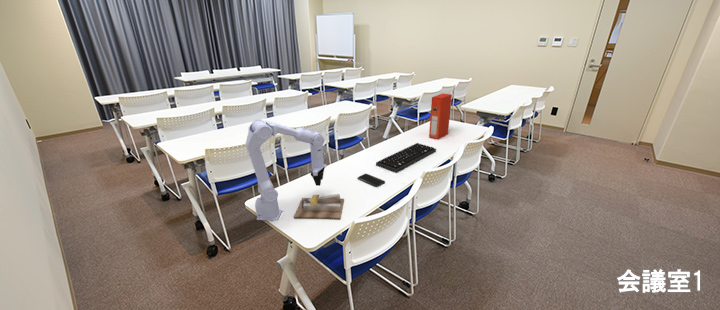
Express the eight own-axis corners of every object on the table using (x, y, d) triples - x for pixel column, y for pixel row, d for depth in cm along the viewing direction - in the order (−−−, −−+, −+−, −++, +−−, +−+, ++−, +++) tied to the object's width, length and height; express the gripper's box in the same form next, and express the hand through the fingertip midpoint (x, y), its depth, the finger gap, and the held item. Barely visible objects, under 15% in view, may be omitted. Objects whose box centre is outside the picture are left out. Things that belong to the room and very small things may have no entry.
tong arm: (309, 206, 136) (308, 200, 135) (308, 204, 138) (308, 198, 137) (340, 201, 140) (340, 195, 139) (339, 199, 142) (339, 193, 141)
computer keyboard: (396, 174, 170) (396, 168, 169) (376, 166, 180) (376, 160, 179) (435, 152, 200) (436, 147, 198) (416, 146, 210) (416, 141, 209)
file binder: (428, 137, 226) (432, 97, 213) (438, 132, 238) (442, 93, 225) (438, 139, 221) (442, 98, 209) (447, 134, 233) (452, 94, 221)
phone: (376, 186, 154) (356, 177, 164) (376, 188, 154) (356, 179, 164) (386, 181, 159) (365, 173, 169) (386, 183, 160) (365, 174, 169)
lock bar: (310, 205, 131) (309, 202, 130) (313, 198, 137) (312, 194, 136) (316, 205, 131) (316, 202, 130) (319, 198, 137) (319, 194, 136)
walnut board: (293, 218, 130) (293, 216, 129) (302, 199, 144) (302, 197, 144) (340, 219, 128) (340, 217, 128) (344, 200, 143) (344, 198, 143)
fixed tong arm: (300, 211, 133) (300, 204, 132) (303, 205, 137) (302, 199, 136) (340, 211, 132) (339, 205, 131) (341, 206, 136) (341, 200, 135)
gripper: (323, 163, 129) (324, 189, 134) (328, 151, 142) (329, 175, 147) (307, 163, 129) (309, 189, 135) (314, 150, 143) (316, 175, 148)
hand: (319, 182), depth 141 cm, fingers open, 5 cm apart
